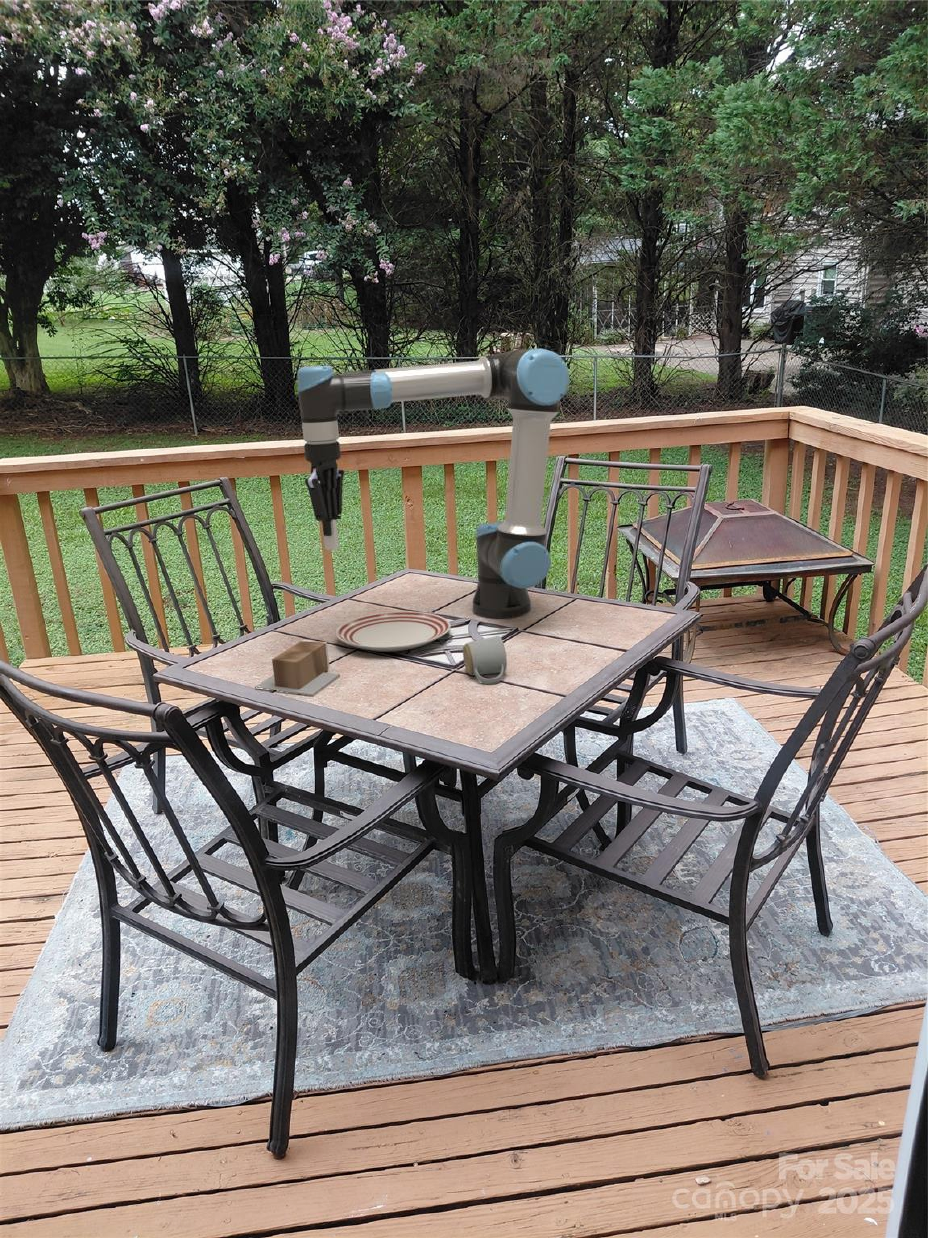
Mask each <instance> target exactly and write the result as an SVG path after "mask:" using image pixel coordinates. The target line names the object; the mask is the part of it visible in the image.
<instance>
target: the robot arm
mask: <svg viewBox="0 0 928 1238" xmlns="http://www.w3.org/2000/svg"><path fill="white" fill-rule="evenodd" d="M296 374H297V375H296V377H297V393H298V400H299V409H300V417H301V418H300V419H301V425H302V426H301V429H302V433H303V434H302V437H303V441H304V442H306V443H304V445H303V450H304V457H305V461H307V463H308V462H309V463H310V474H311V475H310V476H309V478H305V480H304V484H305V486H306V487H307V490H308V493H309V497H310V502H311V506H312V511H313V514H314V518H315V520H316V521H318V522H321V523H322V524H321V525H322V534H323V542H324V550H325V551H326V550H328V551H337V550H340V545H339V543H340V542H339V534H338V533H339V532H338V523H337V522H338V521H337V520H341V519H342V516H341V515H342V512H343V486H344V485H343V482H344V481H343V480H344V478H345V477H344V475H345V470H343V469H339V468H338V463H337V461H338V460H340V459H341V443H340V442H339V441H338V440H339V439H340V433H339V425H338V416H337V415H338V412H346V411H348V412H350V411H351V412H353V411H366V410H367V411H368V410H375V411H377V410H381V409H386V408H390V407H391V405H392V403H397V402H398V403H399V402H409V401H421V400H431V399H432V400H433V399H442V398H452V397H462V396H474V395H476V396H477V395H480V396H482V397H483V398H484V399H490V398H503V399H507V411H508V412H509V414H510V415H511V416H512V430H511V441H510V442H511V443H510V452H509V454H510V455H509V465H508V476H507V478H508V479H507V489H506V491H507V492H506V499H505V500H506V501H505V513H504V520H502V521H493V522H486V523H481V524H479V525H478V526H477V527H476V536H475V540H476V555H477V556H476V560H477V578H478V579H477V585H476V588H475V592H474V595H473V598H472V599H473V600H472V603H471V604H472V612H473V614H475V615H477V616H480V617H482V618H489V619H491V618H492V619H507V618H509V619H511V618H516V617H521V616H523V615H526V614H527V613H529V612H530V611H531V610H532V605H531V604H532V601H531V597H530V595H529V593H528V589H531V588H532V587H536V586H538V585H539V584H540V583H541V582H542V581H544V579H545V578H546V577H547V576H548V573H549V571H550V568H551V563H552V562H551V556H550V553H549V551H548V549H547V548H546V541H547V530H546V529H545V527H544V526H543V525H542V516H543V515H542V514H543V513H542V512H543V504H544V503H543V502H544V495H545V486H546V485H545V484H546V483H545V482H546V472H547V464H548V462H547V461H548V455H549V454H548V452H549V443H550V431H551V421H552V420H553V419H554V418H555V417H556V416H557V415H558V414H559V408H560V400H561V399H562V398H563V397H564V396H565V395H566V393H567V391H568V389H569V385H570V371H569V369H568V366H567V364H566V362H565V361H564V359H563V358H562V357H561V356H560V355H559V354H558V353H556V352H555V351H551V350H548V349H545V348H519V349H514V350H510V351H506V352H503V353H497V354H496V353H495V354H489V355H482V356H480V358H479V359H478V360H475V361H472V360H471V361H463V362H462V361H461V362H451V363H440V364H428V365H427V364H426V365H414V366H404V367H403V366H402V367H391V368H380V369H372V370H371V369H369V370H357V371H356V370H347V371H345V372H342V373H341V374H335V372H334V369H333V367H332V366H330V365H316V366H315V365H313V366H302V367H300V368H299V369H298V370H297V373H296Z"/></svg>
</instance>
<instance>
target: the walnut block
mask: <svg viewBox="0 0 928 1238" xmlns="http://www.w3.org/2000/svg"><path fill="white" fill-rule="evenodd" d="M271 663H272V670H273V671H272V672H273V675H274V680H275V686H278V687H286V688H293V689H301V688H303V687H304V686H305V685H307V684H308V683H309V682H311V681H312V680H314V679H315V678H316V677H318V676H319V675H320V674H322V673H323V672H325V673H326V671H327V670H329V669H330V662H329V649H328V642H326V641H317V640H310V639H309V640H308V639H302V640H300V641H299V642H298V643H296V644H294V645H293V646H290V647H289V648H288V649H286V650H285V651H283V652H281V653H280V654H279V655H277V656H275V657H274V658H272V659H271Z"/></svg>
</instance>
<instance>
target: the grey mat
mask: <svg viewBox="0 0 928 1238" xmlns="http://www.w3.org/2000/svg"><path fill="white" fill-rule="evenodd" d="M339 678H340V673H333V672H326V671H325V672H323V673H322V674H320V675H319V676H318V677H316V678H315V679H314V680H312V681H311V682H309V683H308V684H307V685H305V686H304V687H303V688H301V689H293V688H286V687H278V686H275V680H274V674H272V675H271V676H269V677H268V678H266V679H264V680H263V681H262V682H260V683H259V684H258V685H256V686H255V687H257V688H263V689H269V690H278V691H283V692H288V693H293V694H292V695H296V694H301V695H300V696H304V695H307V696H306V697H311V696H313V697H315V696H316V695H317V694H319V693H320V692H321V691H322V690H324V689H326V688H327V687H328V686H329V685H331V684H332V683H333V682H334V681H336V680H338V679H339ZM259 686H260V687H259ZM320 690H321V691H320ZM319 691H320V692H319ZM318 692H319V693H318ZM288 693H287V694H288ZM315 694H316V695H315ZM314 695H315V696H314Z"/></svg>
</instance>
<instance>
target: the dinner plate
mask: <svg viewBox="0 0 928 1238" xmlns="http://www.w3.org/2000/svg"><path fill="white" fill-rule="evenodd" d="M450 629H451V622H450V621H449V620H448V619H446V618H445V617H443V616H441V615H438V614H435V613H430V612H423V611H414V610H413V611H412V610H411V611H407V610H405V611H404V610H403V611H396V610H395V611H386V612H385V611H384V612H377V613H371V614H366V615H363V616H358V617H354V618H353V619H350V620H347V621H345V622H343V623H342V624H341V625H340V626H338V627H337V628H336V630H335V636H336V638H337V639H338V640H339V641H340V642H342V643H344V644H346V645H349V646H351V647H354V648H358V649H362V650H366V651H367V650H368V651H372V652H382V653H384V652H385V653H391V652H394V653H395V652H403V651H407V650H408V649H409V650H412V649H416V648H420V647H422V646H424V645H427V644H430V643H432V642H434V641H437V640H438V639H440V638H441V637H443V636H445V635H446V634H447V633H449V631H450ZM409 650H408V651H409Z"/></svg>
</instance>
